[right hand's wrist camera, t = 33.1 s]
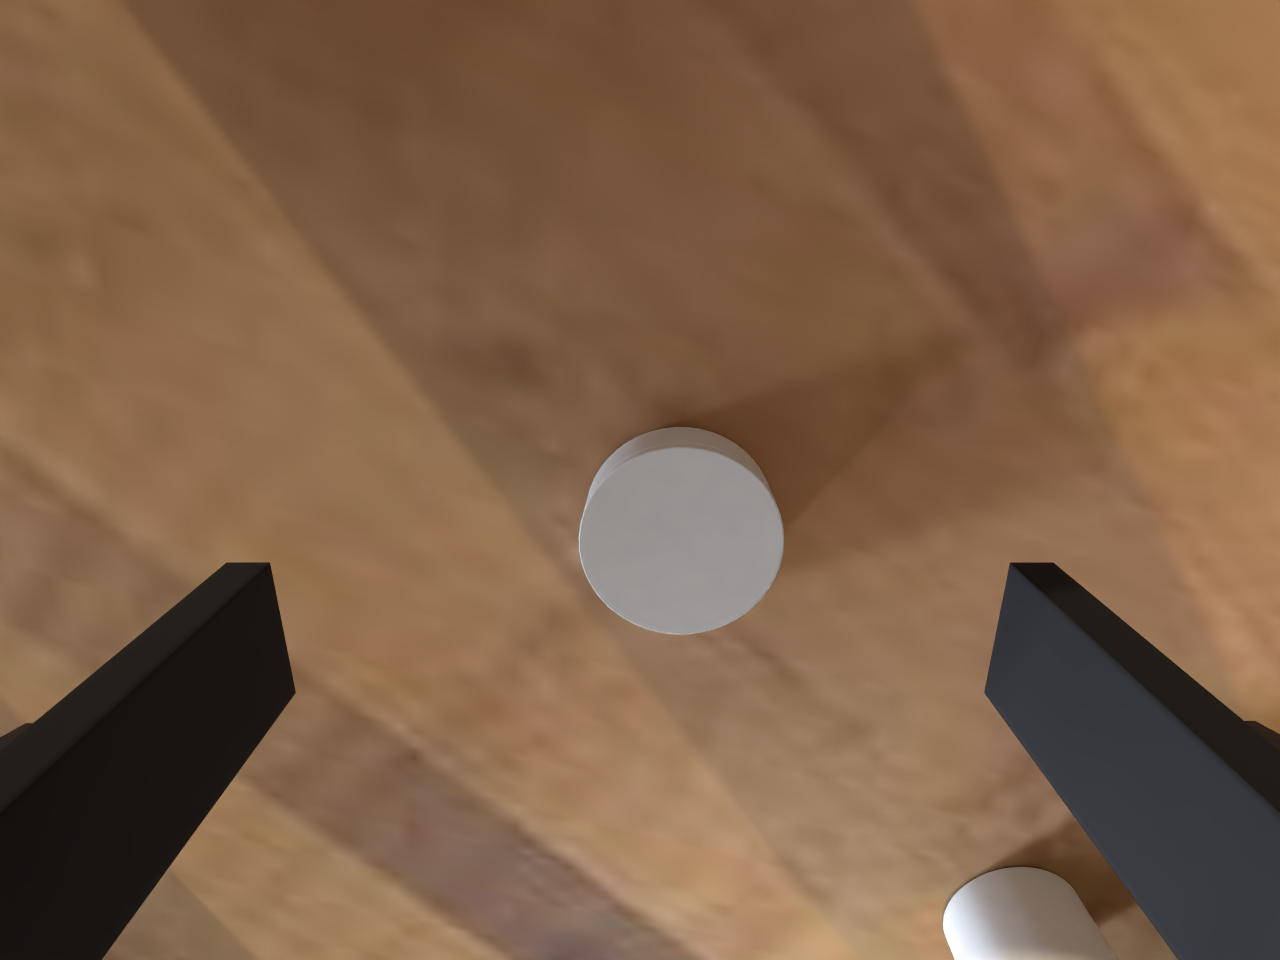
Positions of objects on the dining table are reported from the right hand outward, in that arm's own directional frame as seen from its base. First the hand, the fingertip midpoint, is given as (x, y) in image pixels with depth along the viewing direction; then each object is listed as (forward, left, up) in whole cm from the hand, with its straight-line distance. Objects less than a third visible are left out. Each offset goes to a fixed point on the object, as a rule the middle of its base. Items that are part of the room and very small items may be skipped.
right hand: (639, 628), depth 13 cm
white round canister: (+1, -1, -5) cm, 5 cm away
